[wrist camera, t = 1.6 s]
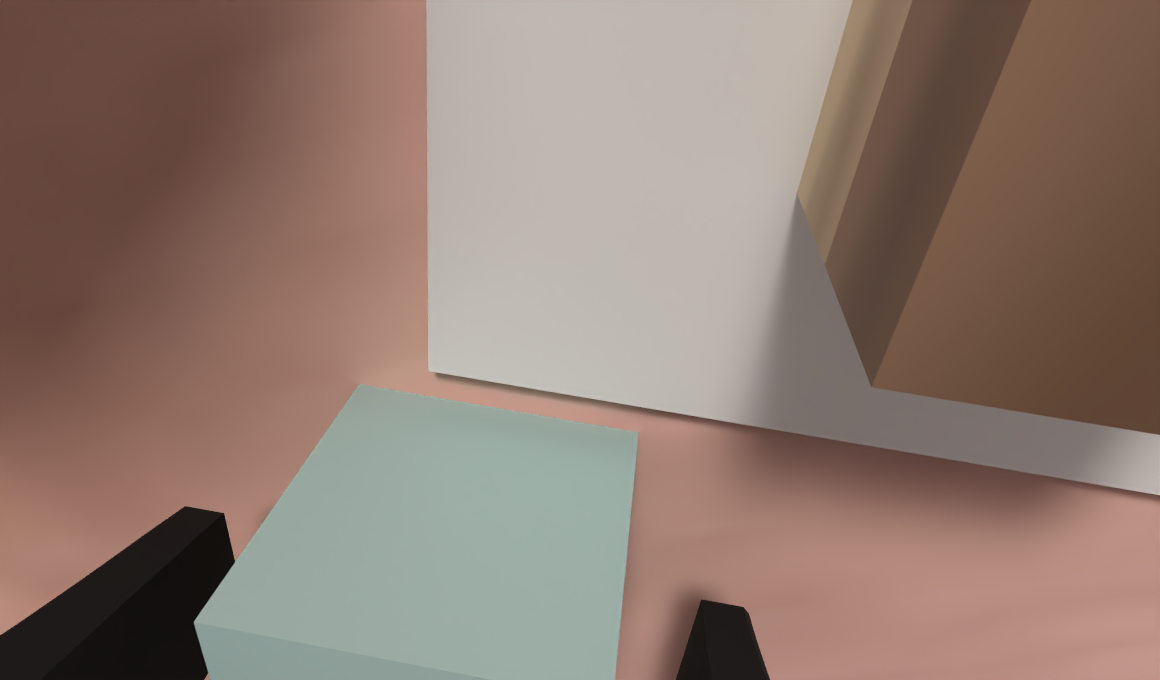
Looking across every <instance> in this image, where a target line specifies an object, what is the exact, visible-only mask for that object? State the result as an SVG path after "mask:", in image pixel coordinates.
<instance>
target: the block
mask: <svg viewBox="0 0 1160 680" xmlns="http://www.w3.org/2000/svg"><path fill="white" fill-rule="evenodd" d="M638 434H639V432H634V431H628V430H622V429H617V428H611V427H605V426H599V425H593V424H588V423H582V422H576V421H570V420H564V419H559V418H553V417H547V416H541V415H535V414H530V413H524V412H518V411H512V410H506V409H501V408H495V407H489V406H483V405H477V404H472V403H466V402H460V401H454V400H448V399H442V398H437V397H431V396H425V395H419V394H413V393H408V392H402V391H396V390H390V389H384V388H379V387H373V386H367V385H361V384H359V385H358V386H357V388H356V389H355V391H354V392H353V394H352V395H351V396H350V398H349V399H348V401H347V402H346V404H345V405H344V407H343V408H342V409H341V411H340V412H339V414H338V415H337V417H336V418H335V419H334V421H333V422H332V424H331V425H330V427H329V428H328V430H327V431H326V432H325V434H324V435H323V437H322V438H321V440H320V441H319V442H318V444H317V445H316V447H315V448H314V450H313V451H312V453H311V454H310V455H309V457H308V458H307V460H306V461H305V463H304V464H303V465H302V467H301V468H300V470H299V471H298V473H297V474H296V476H295V477H294V478H293V480H292V481H291V483H290V484H289V486H288V487H287V489H286V490H285V491H284V493H283V494H282V496H281V497H280V499H279V500H278V501H277V503H276V504H275V506H274V507H273V509H272V510H271V512H270V513H269V514H268V516H267V517H266V519H265V520H264V522H263V523H262V524H261V526H260V527H259V529H258V530H257V532H256V533H255V535H254V536H253V537H252V539H251V540H250V542H249V543H248V545H247V546H246V547H245V549H244V550H243V552H242V553H241V555H240V556H239V558H238V559H237V560H236V562H235V563H234V565H233V566H232V568H231V569H230V570H229V572H228V573H227V575H226V576H225V578H224V579H223V581H222V582H221V583H220V585H219V586H218V588H217V589H216V591H215V592H214V594H213V595H212V596H211V598H210V599H209V601H208V602H207V604H206V605H205V606H204V608H203V609H202V611H201V612H200V614H199V615H198V617H197V618H196V619H195V621H194V625H195V629H196V632H197V635H198V639H199V642H200V646H201V649H202V653H203V656H204V660H205V663H206V666H207V670H208V673H209V677H210V680H615V674H616V664H617V653H618V643H619V632H620V622H621V612H622V601H623V591H624V580H625V570H626V559H627V549H628V539H629V528H630V518H631V507H632V497H633V487H634V476H635V466H636V455H637V445H638Z"/></svg>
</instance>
